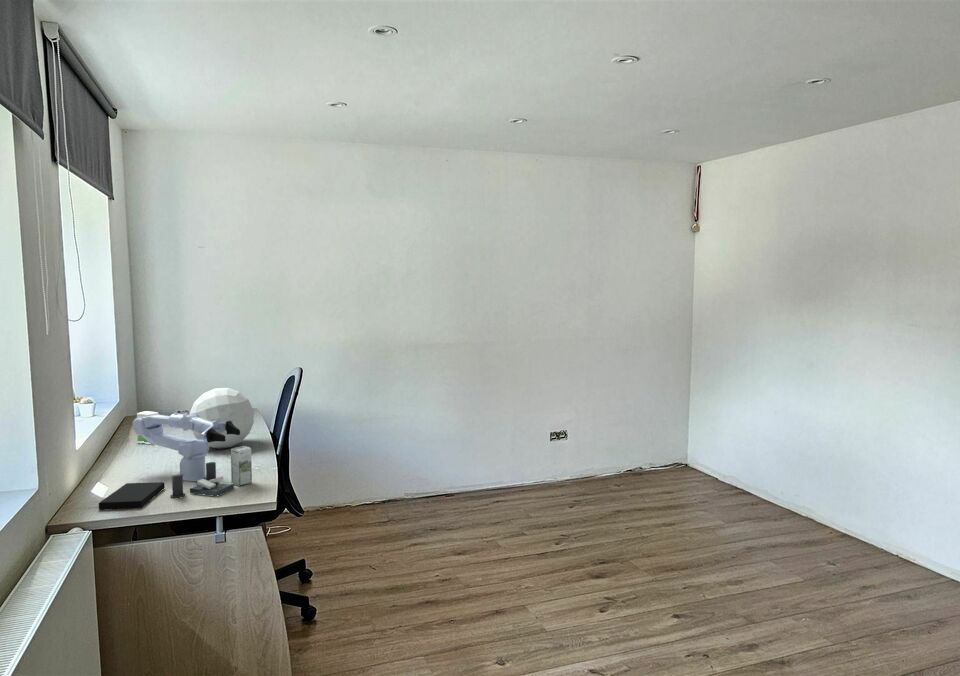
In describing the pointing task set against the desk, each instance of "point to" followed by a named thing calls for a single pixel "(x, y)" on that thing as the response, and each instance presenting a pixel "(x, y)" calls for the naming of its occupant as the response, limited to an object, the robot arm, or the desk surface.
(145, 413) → the skincare box
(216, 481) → the orange-tipped paddle
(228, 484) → the panel
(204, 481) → the grey paddle
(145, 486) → the external hard drive
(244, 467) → the syrup box
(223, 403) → the ball
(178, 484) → the post
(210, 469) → the far cord post
